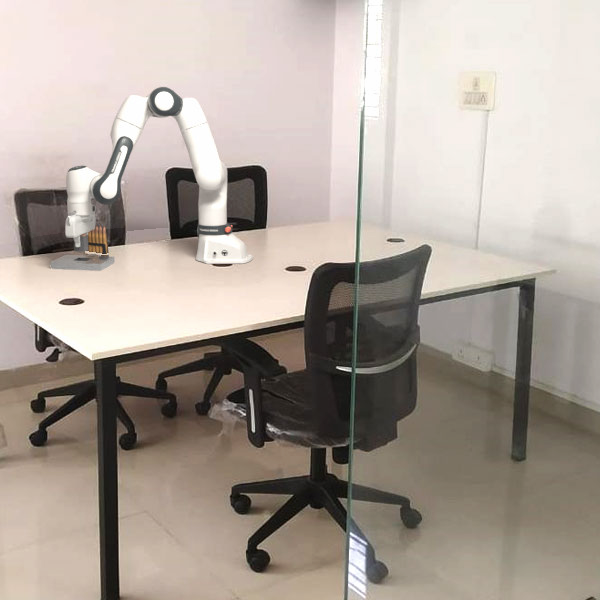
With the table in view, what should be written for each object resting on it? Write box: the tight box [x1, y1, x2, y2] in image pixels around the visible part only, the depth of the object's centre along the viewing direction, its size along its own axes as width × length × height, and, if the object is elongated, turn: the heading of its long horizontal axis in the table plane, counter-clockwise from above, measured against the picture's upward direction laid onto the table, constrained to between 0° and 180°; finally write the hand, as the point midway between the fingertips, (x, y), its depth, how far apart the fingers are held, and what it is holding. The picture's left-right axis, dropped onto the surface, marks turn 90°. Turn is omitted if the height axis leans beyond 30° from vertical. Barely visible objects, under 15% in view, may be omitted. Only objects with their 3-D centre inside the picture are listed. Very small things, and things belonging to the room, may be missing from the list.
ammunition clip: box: [88, 225, 110, 254], centre depth 367 cm, size 11×2×12 cm, turn 66°
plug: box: [73, 234, 88, 253], centre depth 346 cm, size 4×4×6 cm
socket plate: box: [49, 254, 115, 272], centre depth 347 cm, size 20×14×3 cm
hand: (81, 245), depth 346 cm, fingers closed on plug, 4 cm apart
